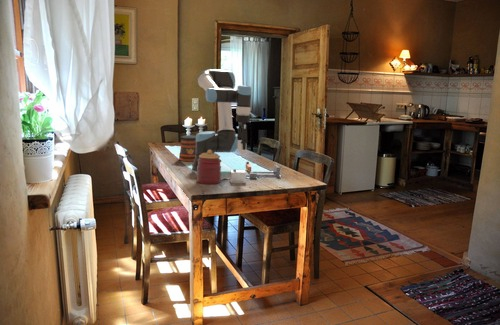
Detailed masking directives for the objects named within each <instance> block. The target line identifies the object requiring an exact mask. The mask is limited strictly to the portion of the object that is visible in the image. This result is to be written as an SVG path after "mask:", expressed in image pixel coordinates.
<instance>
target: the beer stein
mask: <svg viewBox="0 0 500 325" xmlns="http://www.w3.org/2000/svg"><path fill="white" fill-rule="evenodd" d="M196 135H197V134H196ZM196 135H192V134H189V135H188V134H187V135H183V136H182V135H180V137H179V138H180V151H179V155H178V156H179V157H178V160H179V161H181V162H185V163H191V162H192V163H193V162H194V159H195V156H196Z"/></svg>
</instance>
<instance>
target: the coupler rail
mask: <svg viewBox="0 0 500 325" xmlns="http://www.w3.org/2000/svg"><path fill="white" fill-rule="evenodd" d="M280 176H281V167H280V165H278V164H273V169H272V171H251V172H248V171H246V177H249V179H253V180H257V178H259V177H260V178H261V177H263V178H267V177H268V178H269V177H270V178H280Z"/></svg>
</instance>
